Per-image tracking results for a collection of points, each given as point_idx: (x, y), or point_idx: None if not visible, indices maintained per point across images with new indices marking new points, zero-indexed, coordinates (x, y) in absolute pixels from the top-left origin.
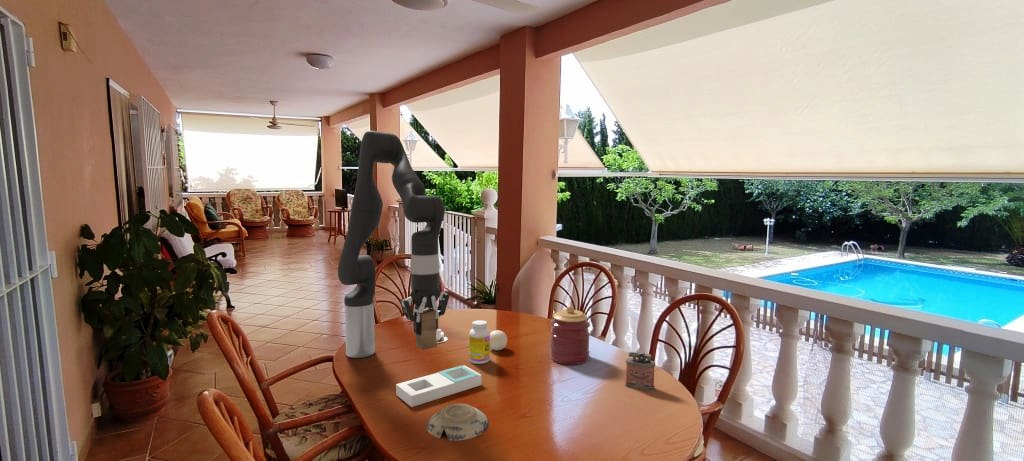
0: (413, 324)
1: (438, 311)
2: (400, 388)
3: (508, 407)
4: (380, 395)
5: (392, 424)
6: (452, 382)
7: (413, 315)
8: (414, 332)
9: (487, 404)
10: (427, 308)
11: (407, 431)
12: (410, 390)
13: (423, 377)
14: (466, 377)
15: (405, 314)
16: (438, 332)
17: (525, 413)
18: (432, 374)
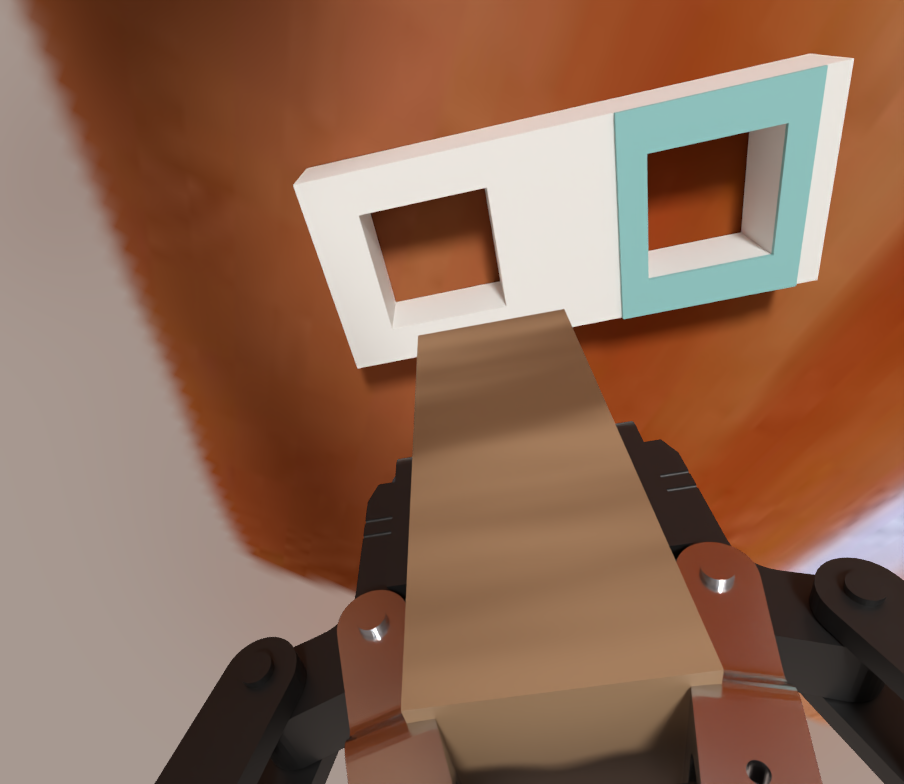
0: (360, 565)
1: (807, 674)
2: (316, 247)
3: (719, 483)
4: (211, 130)
5: (267, 436)
6: (614, 306)
7: (348, 681)
8: (379, 490)
9: (669, 438)
10: (664, 697)
11: (317, 493)
12: (365, 309)
13: (488, 155)
14: (716, 287)
15: (192, 747)
16: None
17: (735, 532)
18: (562, 130)
